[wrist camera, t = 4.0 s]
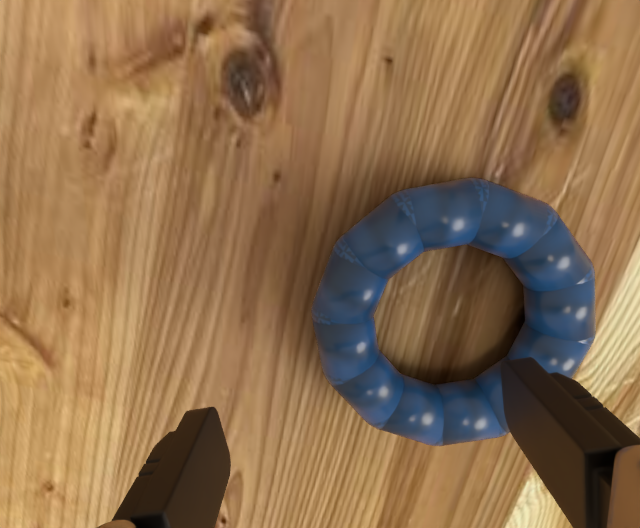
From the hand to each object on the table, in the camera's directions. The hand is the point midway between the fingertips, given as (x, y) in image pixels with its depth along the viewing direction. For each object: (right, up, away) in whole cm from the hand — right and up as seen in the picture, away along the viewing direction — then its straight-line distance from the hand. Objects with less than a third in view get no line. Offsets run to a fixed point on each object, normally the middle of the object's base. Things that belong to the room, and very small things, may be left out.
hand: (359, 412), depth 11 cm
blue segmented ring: (+4, +2, +5) cm, 7 cm away
